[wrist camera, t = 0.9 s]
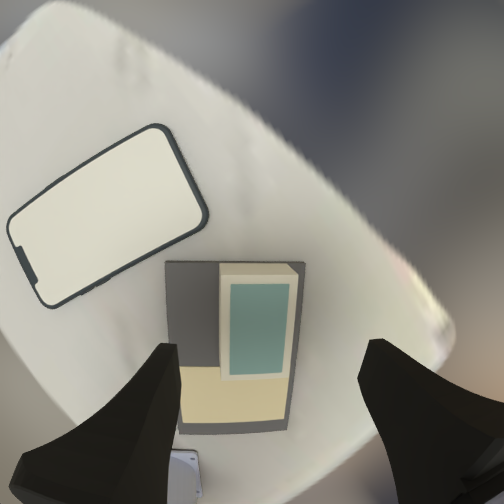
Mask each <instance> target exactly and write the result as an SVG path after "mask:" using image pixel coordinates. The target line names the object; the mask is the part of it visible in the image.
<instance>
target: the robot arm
mask: <svg viewBox="0 0 504 504" xmlns="http://www.w3.org/2000/svg"><path fill="white" fill-rule="evenodd" d="M357 379H358V383H359V386H360V390H361V393H362V396H363V399H364V401H365V404H366V406H367V408H368V410H369V413H370V415H371V417H372V419H373V421H374V423H375V425H376V428H377V430H378V432H379V434H380V436H381V438H382V441H383V443H384V445H385V448H386V451H387V455H388V458H389V461H390V464H391V468H392V472H393V477H394V481H395V485H396V490H397V496H398V502H399V504H504V403H503V402H499V401H495V400H492V399H489V398H485V397H483V396H480V395H477V394H474V393H472V392H470V391H468V390H465V389H463V388H461V387H459V386H457V385H455V384H453V383H451V382H449V381H447V380H446V379H444V378H442V377H440V376H439V375H437V374H436V373H434V372H432V371H431V370H429V369H428V368H426V367H425V366H423V365H422V364H420V363H419V362H417V361H416V360H414V359H413V358H411V357H410V356H409V355H407V354H406V353H404V352H403V351H401V350H400V349H399V348H397V347H396V346H394V345H393V344H391V343H390V342H388V341H386V340H385V339H383V338H382V339H372V340H369V343H368V346H367V350H366V353H365V356H364V359H363V362H362V365H361V369H360V372H359V374H358V377H357ZM181 387H182V383H181V375H180V367H179V358H178V349H177V344H169V343H160V344H159V345H158V346H157V347H156V348H155V350H154V351H153V352H152V354H151V355H150V356H149V358H148V359H147V360H146V362H145V363H144V364H143V365H142V367H141V368H140V369H139V370H138V371H137V373H136V374H135V375H134V376H133V377H132V379H131V380H130V381H129V382H128V383H127V384H126V385H125V386H124V387H123V388H122V389H121V390H120V391H119V392H118V393H117V394H116V396H114V397H113V398H112V399H111V400H110V401H109V402H108V403H107V404H106V405H105V406H104V407H102V408H101V409H100V410H99V411H98V412H96V413H95V414H94V415H93V416H91V417H90V418H89V419H87V420H86V421H85V422H83V423H82V424H80V425H79V426H77V427H76V428H75V429H73V430H71V431H70V432H68V433H66V434H64V435H63V436H61V437H59V438H57V439H55V440H53V441H51V442H49V443H47V444H45V445H43V446H40V447H38V448H36V449H33V450H31V451H28V452H26V453H23V454H22V456H21V458H20V460H19V462H18V464H17V466H16V469H15V471H14V474H13V476H12V479H11V481H10V484H9V488H10V490H11V492H12V494H14V496H15V497H16V498H17V499H19V500H20V501H21V502H22V503H23V504H197V501H196V498H200V497H202V496H203V494H202V487H201V480H200V472H199V464H198V456H197V453H196V452H195V451H176V450H172V445H173V440H174V435H175V430H176V425H177V420H178V415H179V409H180V400H181ZM192 457H193V458H192ZM0 504H1V503H0Z"/></svg>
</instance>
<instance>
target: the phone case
mask: <svg viewBox="0 0 504 504" xmlns="http://www.w3.org/2000/svg"><path fill="white" fill-rule="evenodd" d="M208 218H209V212H208V208H207V206H206V204H205V202H204V200H203V198H202V196H201V193H200V191H199V189H198V187H197V185H196V183H195V181H194V179H193V177H192V175H191V173H190V171H189V169H188V167H187V165H186V162H185V160H184V158H183V156H182V154H181V152H180V150H179V148H178V146H177V144H176V141H175V139H174V137H173V135H172V133H171V131H170V130H169V129H168V128H167V127H166V126H165V125H162V124H158V123H153V124H150V125H147V126H145V127H143V128H141V129H140V130H138V131H136V132H134V133H132V134H130V135H129V136H127V137H125V138H123V139H121V140H120V141H118V142H116V143H114V144H113V145H111V146H109V147H108V148H106V149H104V150H103V151H101V152H99V153H98V154H96V155H94V156H93V157H91V158H90V159H88V160H86V161H85V162H83V163H82V164H80V165H79V166H77V167H76V168H74V169H73V170H71V171H70V172H68V173H67V174H65V175H63V176H61V177H60V178H58V179H57V180H55V181H54V182H53V183H51V184H50V185H48V186H47V187H46V188H45V189H44V190H43V191H41V192H40V193H39V194H37V195H36V196H35V197H33V198H32V199H31V200H29V201H28V202H27V203H26V204H24V205H23V206H22V207H20V208H19V209H18V210H17V211H16V212H14V213H13V214H12V215H11V216H10V217H9V219H8V221H7V226H6V231H7V235H8V237H9V240H10V242H11V244H12V247H13V249H14V251H15V253H16V256H17V258H18V260H19V262H20V264H21V266H22V268H23V270H24V272H25V274H26V276H27V278H28V280H29V282H30V284H31V286H32V288H33V290H34V292H35V293H36V295H37V297H38V299H39V301H40V302H41V303H42V304H43V305H44V306H45V307H47V308H49V309H56V308H58V307H60V306H62V305H63V304H65V303H67V302H69V301H70V300H72V299H74V298H76V297H77V296H79V295H83V294H85V293H87V292H89V291H90V290H92V289H93V288H94V287H95V286H96V287H97V286H99V285H101V284H103V283H105V282H107V281H108V280H110V278H111V277H113V276H115V275H117V274H119V273H120V272H122V271H124V270H126V269H128V268H130V267H132V266H133V265H135V264H137V263H139V262H141V261H143V260H145V259H147V258H148V257H150V256H152V255H154V254H156V253H158V252H160V251H162V250H164V249H166V248H167V247H169V246H171V245H173V244H175V243H177V242H179V241H181V240H183V239H185V238H187V237H189V236H191V235H193V234H195V233H197V232H199V231H200V230H202V229H203V228H204V227H205V225H206V224H207V221H208Z"/></svg>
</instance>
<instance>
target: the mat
mask: <svg viewBox="0 0 504 504" xmlns="http://www.w3.org/2000/svg"><path fill="white" fill-rule="evenodd" d="M219 263H287V264H288V265H289V266H290V267H291V268H292V269H293V270H294V271H295V272H296V273H297V274H298V288H297V300H296V311H295V322H294V333H293V343H292V352H291V362H290V371H289V377H288V378H274V379H258V380H233V381H221V373H220V362H219ZM305 265H306V263H304V262H245V261H166V262H165V283H166V305H167V322H168V336H169V344H177V349H178V358H179V367H180V375H181V383H182V387H181V400H180V409H179V415H178V420H177V421H178V428H179V434H189V435H217V434H244V433H260V432H271V431H282V430H287V426H288V419H289V412H290V405H291V398H292V390H293V383H294V375H295V367H296V358H297V350H298V341H299V331H300V321H301V311H302V301H303V289H304V278H305Z"/></svg>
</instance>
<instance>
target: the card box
mask: <svg viewBox="0 0 504 504" xmlns="http://www.w3.org/2000/svg"><path fill="white" fill-rule="evenodd" d="M297 288H298V274H297V273H296V272H295V271H294V270H293V269H292V268H291V267H290V266H289V265H288V264H287V263H219V362H220V373H221V381H233V380H258V379H274V378H288V377H289V371H290V362H291V352H292V343H293V333H294V322H295V311H296V300H297Z"/></svg>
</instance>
